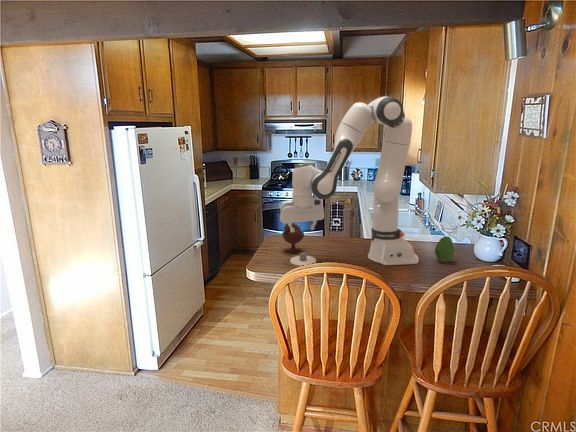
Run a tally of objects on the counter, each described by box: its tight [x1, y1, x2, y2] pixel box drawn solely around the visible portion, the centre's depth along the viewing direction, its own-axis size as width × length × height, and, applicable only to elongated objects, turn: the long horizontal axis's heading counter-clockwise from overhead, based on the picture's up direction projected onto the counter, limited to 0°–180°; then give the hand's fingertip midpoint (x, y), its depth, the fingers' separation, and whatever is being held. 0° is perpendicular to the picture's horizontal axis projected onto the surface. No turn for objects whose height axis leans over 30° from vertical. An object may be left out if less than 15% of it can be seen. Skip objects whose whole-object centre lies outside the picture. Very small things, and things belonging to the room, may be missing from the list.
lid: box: [289, 251, 317, 267], centre depth 170 cm, size 12×12×4 cm
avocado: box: [434, 235, 455, 264], centre depth 164 cm, size 8×8×12 cm
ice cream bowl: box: [281, 223, 305, 254], centre depth 181 cm, size 11×11×15 cm
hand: (302, 230), depth 167 cm, fingers open, 8 cm apart
